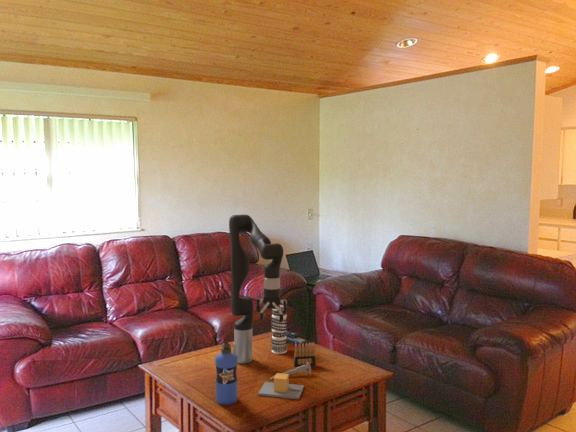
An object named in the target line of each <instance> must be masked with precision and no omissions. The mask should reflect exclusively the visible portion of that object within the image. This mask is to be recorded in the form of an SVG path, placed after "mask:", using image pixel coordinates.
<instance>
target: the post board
mask: <svg viewBox="0 0 576 432" xmlns="http://www.w3.org/2000/svg"><path fill="white" fill-rule="evenodd" d="M304 388H305V385H303V384H295V383H289V388H288V390H287V392H275V391H274V381H273V382H272V381H270V382H269V381H264V383H263V384H262V386H261V387H260V390H259V391H258V394H257V395H258V396H259V397H260V396H261V397H271V398H272V397H273V398H279V399H280V398H282V399H292V400H300V397H301V395H302V393H303V391H304Z"/></svg>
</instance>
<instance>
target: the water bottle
mask: <svg viewBox="0 0 576 432" xmlns="http://www.w3.org/2000/svg"><path fill="white" fill-rule="evenodd" d="M231 346H232V345H231V344H230V343H229V342H227V341H226V342H223V344H222V345H221V350H220V352H221V353H218V354H217V355H215V356H214V357H215V359H214V362H215V363H214V364H215V371H216V377H215V378H216V379H215V401H216V403H217V404H218V405H221V406H229V405H233V404H235V403H237V401H238V376H237V370H238V369H237V368H238V363H237V355H236V354H233V352H232V347H231Z"/></svg>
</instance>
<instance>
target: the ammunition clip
mask: <svg viewBox="0 0 576 432" xmlns="http://www.w3.org/2000/svg"><path fill="white" fill-rule="evenodd" d="M315 348H316V347H315V342H314V341H313V342H312V343H311V342H309V344H308V342H302V344H301V343H300V342H298V344H297V342H295V344H294V352H293V353H294V356H293V357H294V360H293V367H294V368H296V367H299V366H302V365H306V363H307V362H309V364H310V365H311V367H315V366H316V349H315ZM305 362H306V363H305Z"/></svg>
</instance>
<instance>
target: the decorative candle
mask: <svg viewBox="0 0 576 432" xmlns="http://www.w3.org/2000/svg"><path fill="white" fill-rule="evenodd" d="M279 305H280V306H281V308H282V310H284V306H283V305H282V304H279ZM271 311H272V314H271V316H270V321H271V323H270V328H271V332H272V335H271V341H270V342H271V345H270V346H271V353H272V354H276V355H277V354H278V355H282V354H286V353H287V352H288V338H287V331H288V320H289V319H288V318H287V317H288V315H287V313H284V314H283V321H282V322H280V313H279V311H277V309H271Z"/></svg>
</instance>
